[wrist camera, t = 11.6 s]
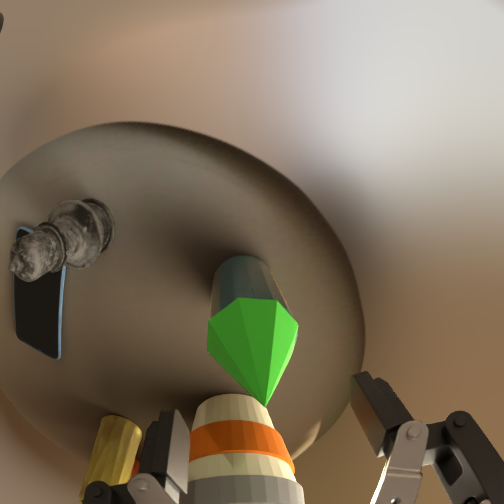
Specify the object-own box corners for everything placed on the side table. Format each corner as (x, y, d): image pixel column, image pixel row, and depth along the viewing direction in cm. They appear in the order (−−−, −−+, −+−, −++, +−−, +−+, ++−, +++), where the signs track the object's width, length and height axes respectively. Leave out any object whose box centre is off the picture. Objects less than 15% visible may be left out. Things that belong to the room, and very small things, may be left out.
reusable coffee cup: (302, 410, 31) (334, 508, 17) (235, 452, 33) (243, 539, 18) (227, 364, 28) (234, 489, 14) (161, 416, 30) (146, 517, 15)
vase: (105, 407, 29) (75, 492, 15) (147, 426, 30) (130, 514, 16) (98, 428, 30) (73, 503, 16) (136, 445, 31) (120, 522, 18)
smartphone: (66, 247, 22) (59, 363, 25) (70, 244, 23) (62, 359, 26) (14, 224, 21) (14, 338, 24) (19, 222, 22) (18, 335, 25)
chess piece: (65, 253, 23) (-11, 304, 12) (66, 193, 22) (-22, 214, 10) (116, 261, 24) (51, 325, 12) (120, 198, 22) (42, 222, 11)
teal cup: (206, 261, 25) (198, 308, 16) (269, 249, 25) (292, 289, 16) (220, 316, 26) (219, 378, 18) (277, 305, 27) (300, 362, 18)
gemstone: (288, 282, 16) (320, 338, 10) (306, 359, 18) (334, 423, 12) (189, 311, 16) (175, 377, 10) (222, 383, 18) (224, 451, 12)
